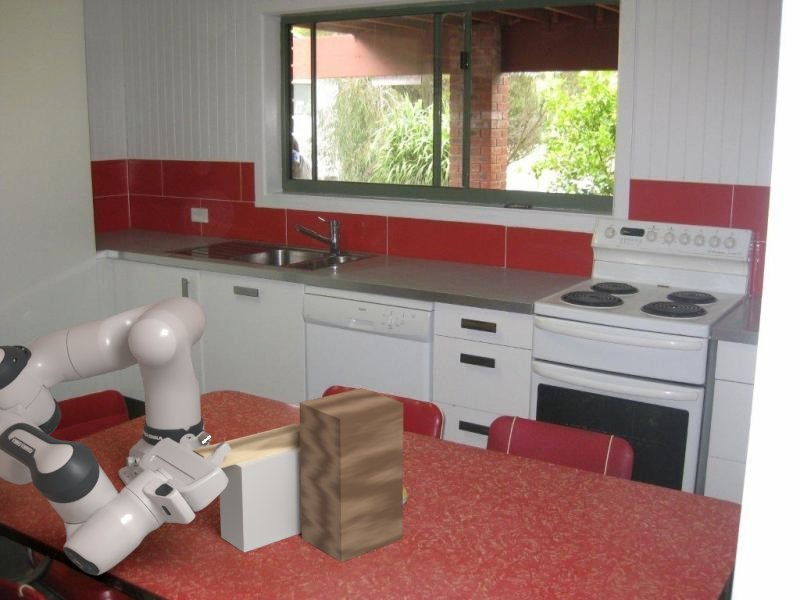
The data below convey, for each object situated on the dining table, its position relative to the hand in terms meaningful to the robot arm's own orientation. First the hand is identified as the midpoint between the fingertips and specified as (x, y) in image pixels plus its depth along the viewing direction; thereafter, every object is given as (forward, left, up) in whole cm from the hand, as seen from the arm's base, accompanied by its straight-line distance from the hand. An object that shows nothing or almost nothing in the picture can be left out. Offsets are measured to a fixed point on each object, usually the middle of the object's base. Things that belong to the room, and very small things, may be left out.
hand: (217, 439), depth 161 cm
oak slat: (0, +7, -4) cm, 8 cm away
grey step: (0, +10, -20) cm, 23 cm away
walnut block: (+12, +20, -20) cm, 31 cm away
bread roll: (+2, +36, -21) cm, 42 cm away
